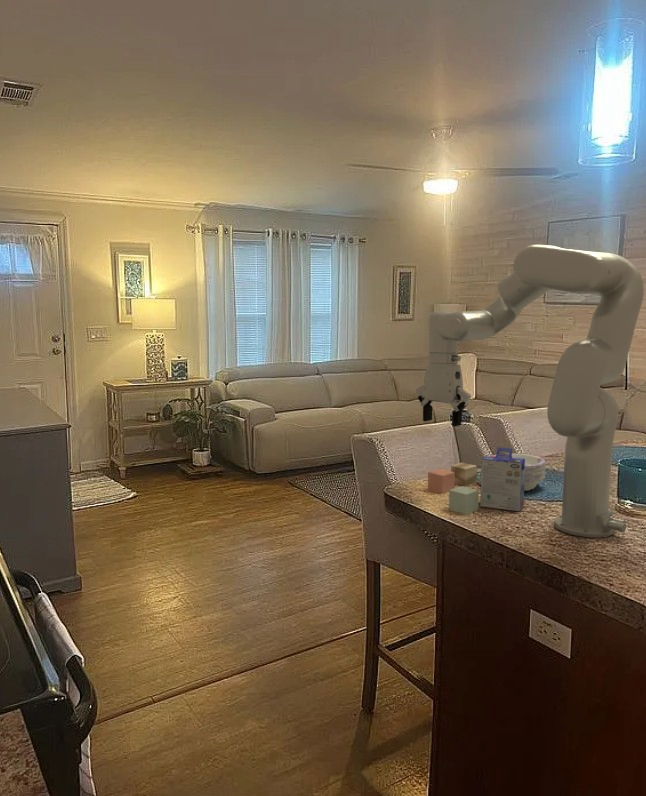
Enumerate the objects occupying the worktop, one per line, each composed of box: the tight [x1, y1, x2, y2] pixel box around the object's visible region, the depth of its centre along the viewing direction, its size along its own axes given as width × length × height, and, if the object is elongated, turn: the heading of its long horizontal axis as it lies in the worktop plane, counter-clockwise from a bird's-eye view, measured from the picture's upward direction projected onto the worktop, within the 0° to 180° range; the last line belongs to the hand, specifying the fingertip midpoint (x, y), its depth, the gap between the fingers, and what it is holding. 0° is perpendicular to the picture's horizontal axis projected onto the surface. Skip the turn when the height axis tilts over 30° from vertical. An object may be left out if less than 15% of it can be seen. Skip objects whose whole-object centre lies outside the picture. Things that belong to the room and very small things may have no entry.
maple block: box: [450, 462, 477, 487], centre depth 177 cm, size 5×5×5 cm
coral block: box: [427, 468, 455, 495], centre depth 170 cm, size 5×5×5 cm
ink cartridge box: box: [479, 447, 525, 512], centre depth 156 cm, size 10×6×14 cm, turn 65°
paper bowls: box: [492, 453, 547, 492], centre depth 172 cm, size 15×15×8 cm
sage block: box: [448, 485, 480, 515], centre depth 154 cm, size 5×5×5 cm
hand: (441, 423), depth 168 cm, fingers open, 9 cm apart
